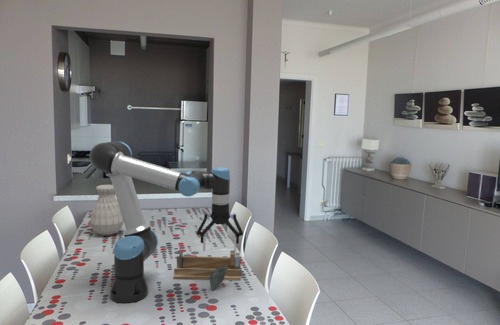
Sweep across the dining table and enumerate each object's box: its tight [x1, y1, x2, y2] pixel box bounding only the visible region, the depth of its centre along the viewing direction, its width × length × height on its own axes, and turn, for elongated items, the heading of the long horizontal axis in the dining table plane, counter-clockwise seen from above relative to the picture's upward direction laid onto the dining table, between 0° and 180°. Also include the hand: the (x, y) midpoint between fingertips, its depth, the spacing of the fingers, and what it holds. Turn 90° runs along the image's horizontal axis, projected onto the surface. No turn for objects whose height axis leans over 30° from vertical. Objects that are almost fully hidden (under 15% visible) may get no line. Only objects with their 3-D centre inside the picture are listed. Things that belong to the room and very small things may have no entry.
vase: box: [89, 184, 124, 236], centre depth 236 cm, size 20×20×30 cm
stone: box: [209, 266, 228, 291], centre depth 167 cm, size 11×4×10 cm, turn 141°
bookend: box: [178, 250, 184, 268], centre depth 179 cm, size 5×3×9 cm, turn 1°
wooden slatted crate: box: [173, 250, 242, 281], centre depth 180 cm, size 12×31×11 cm, turn 91°
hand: (219, 250), depth 166 cm, fingers open, 13 cm apart
